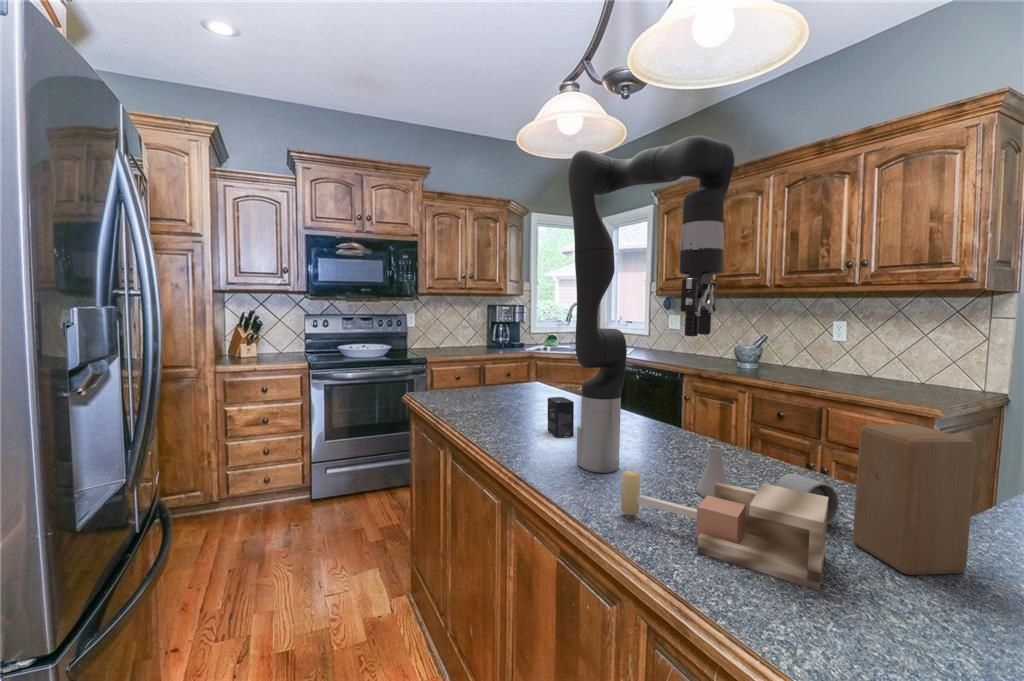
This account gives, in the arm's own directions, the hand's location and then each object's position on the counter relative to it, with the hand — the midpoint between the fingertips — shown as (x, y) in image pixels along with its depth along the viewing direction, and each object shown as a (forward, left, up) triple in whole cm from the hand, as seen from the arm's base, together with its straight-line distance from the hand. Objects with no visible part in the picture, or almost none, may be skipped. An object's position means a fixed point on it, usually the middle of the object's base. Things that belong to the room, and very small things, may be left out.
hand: (697, 335), depth 88 cm
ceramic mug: (+17, +7, -33) cm, 38 cm away
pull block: (+1, -12, -32) cm, 34 cm away
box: (-47, +28, -33) cm, 64 cm away
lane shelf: (+14, -12, -33) cm, 38 cm away
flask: (+2, +9, -33) cm, 35 cm away
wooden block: (+32, +1, -33) cm, 46 cm away
